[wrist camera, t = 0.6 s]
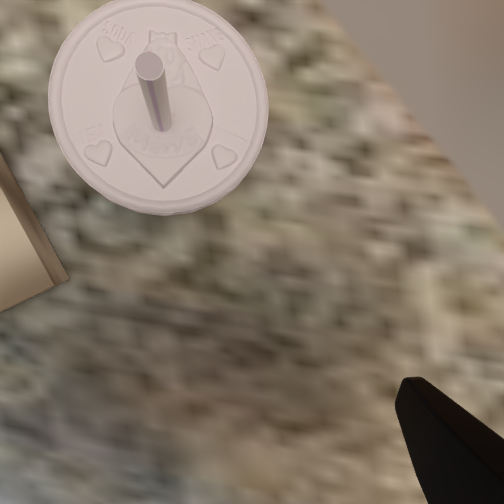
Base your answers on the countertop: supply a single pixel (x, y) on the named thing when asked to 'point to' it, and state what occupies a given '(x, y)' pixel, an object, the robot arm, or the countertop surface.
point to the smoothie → (158, 105)
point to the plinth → (23, 247)
